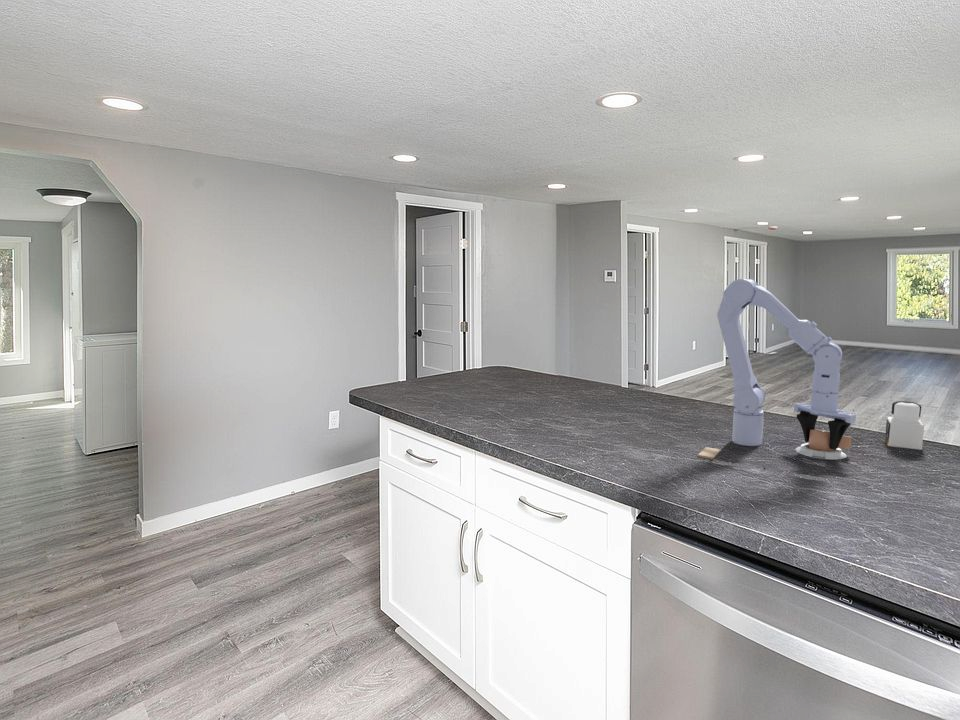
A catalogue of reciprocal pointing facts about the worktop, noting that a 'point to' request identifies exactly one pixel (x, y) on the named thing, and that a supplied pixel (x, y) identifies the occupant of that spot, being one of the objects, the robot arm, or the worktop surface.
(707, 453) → the mat
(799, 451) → the plate
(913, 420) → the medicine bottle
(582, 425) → the worktop surface
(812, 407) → the robot arm
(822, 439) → the mug
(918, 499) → the worktop surface
